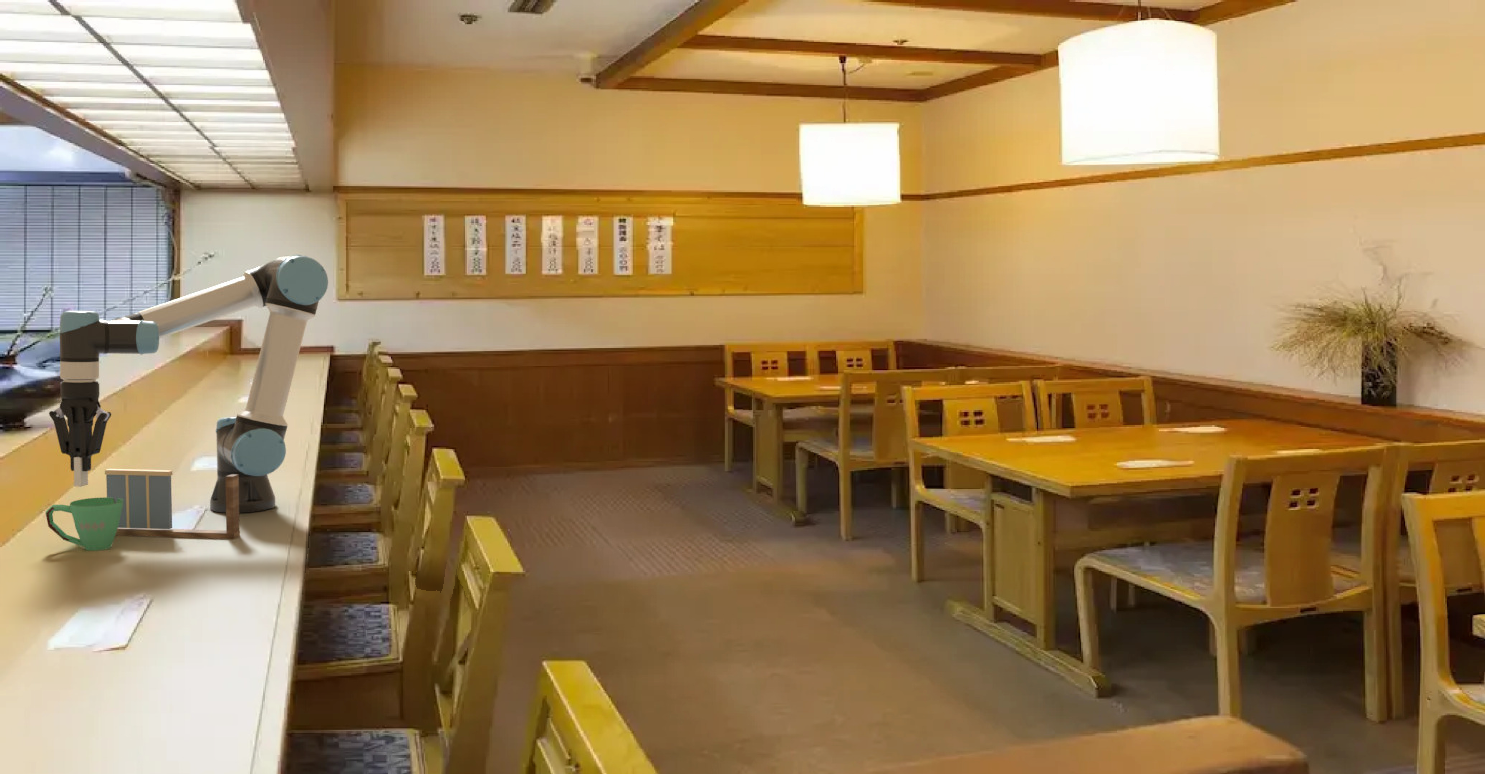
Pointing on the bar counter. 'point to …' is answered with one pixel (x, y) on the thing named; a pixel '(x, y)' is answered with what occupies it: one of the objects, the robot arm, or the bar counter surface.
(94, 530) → the mug
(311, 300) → the robot arm
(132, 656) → the bar counter surface
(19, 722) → the bar counter surface
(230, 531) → the brown wooden rack
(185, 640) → the bar counter surface
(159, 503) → the panel
